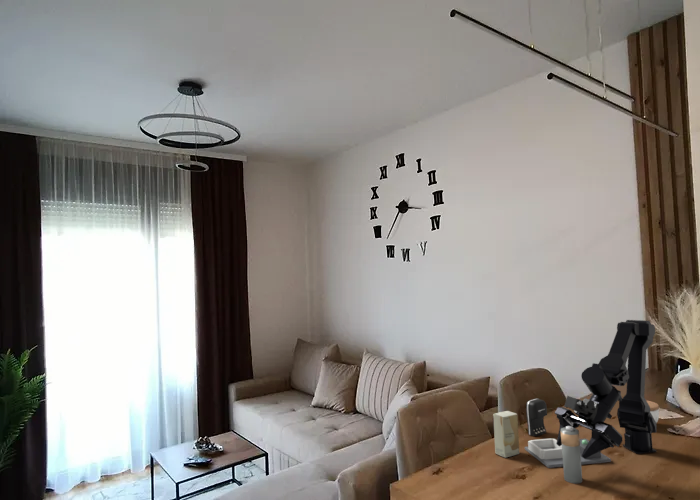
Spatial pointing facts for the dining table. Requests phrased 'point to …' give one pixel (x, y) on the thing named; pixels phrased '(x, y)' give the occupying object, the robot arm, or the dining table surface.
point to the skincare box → (506, 434)
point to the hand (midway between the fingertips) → (570, 451)
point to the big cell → (571, 454)
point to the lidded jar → (654, 410)
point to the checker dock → (559, 453)
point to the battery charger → (536, 416)
